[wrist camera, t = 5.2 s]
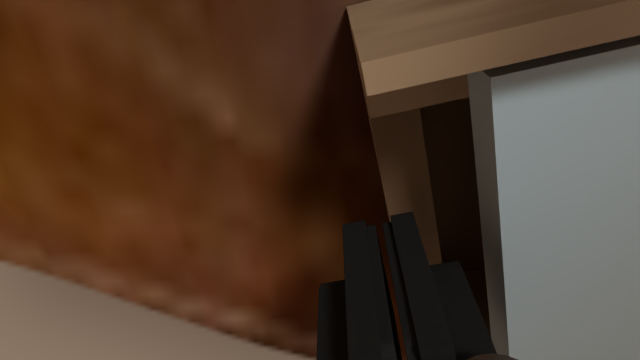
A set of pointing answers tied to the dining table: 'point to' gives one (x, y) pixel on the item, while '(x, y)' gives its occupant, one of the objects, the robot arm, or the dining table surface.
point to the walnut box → (455, 99)
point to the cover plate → (561, 202)
